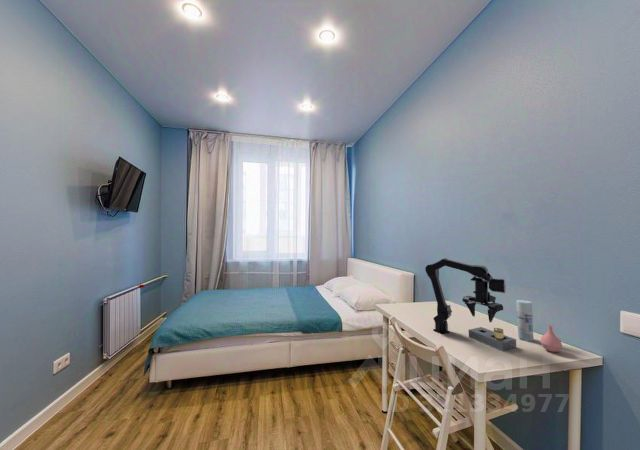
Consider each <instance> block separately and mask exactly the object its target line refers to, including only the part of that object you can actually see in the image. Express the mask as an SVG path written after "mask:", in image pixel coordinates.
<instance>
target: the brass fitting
mask: <svg viewBox="0 0 640 450" xmlns="http://www.w3.org/2000/svg"><path fill="white" fill-rule="evenodd" d="M493 331H494V338H496V339H499V340H504V335H505V334H504V329H503V328H501V327H493Z"/></svg>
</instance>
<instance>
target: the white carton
mask: <svg viewBox="0 0 640 450" xmlns="http://www.w3.org/2000/svg"><path fill="white" fill-rule="evenodd" d="M516 317H517V333H518V339H519V340H521V341H525V342H529V343H530V342H534V324H533V323H534V322H533V319H534V317H533V302H532V301H530V300H526V299H525V300H524V299H517V300H516Z"/></svg>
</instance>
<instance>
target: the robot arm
mask: <svg viewBox="0 0 640 450" xmlns="http://www.w3.org/2000/svg"><path fill="white" fill-rule="evenodd" d="M443 267H448V268H452V269H455V270H459V271H463V272H467V273H468V274H471V275H472V276H473V277H472V278H471V279H470V281H472V282H474V291H473V292H472V293H473V294H474V295H475V296H472V295H466V296H463V297H462V303H464V304H465V305H466V307H467V309H468V310H469V312H470V314H471V316H472V317H476V305H480V306H481V305H482V306H485V307H487V315H488V321H489V323H492V322H493V320H494V318H495V316H496V314H497V313H498V312H500V311H503V310H504V306H503V304H501V303H499V302H498V303H497V302H496V299H497V297H496V296H493V295H491V292H495V293H501V294H505V293H506V282H505V279H504V278H493V277H492V275H491V274H490V273H489V269H488V268H487V267H486V266H485V265H480V264H479V265H478V264H467V263H463V262H460V261H455V260H452V259H448V258H445V257H444V258H441V259H440V260H439V261H436V262H433V263H430V264H427V265H426V266H425V267H424V268H425V269H424V270H425V273H426V275H427V276H428V278H429V279H430V282H431V286H432V289H433V293H434V295H435V300H436V304H437V305H436V306H437V307H436V313H437V315H436V316H434V317H433V320H434V326H435V327H434V328H433V329H432V330H433V331H434V332H436V333H439V334H441V335H443V334H448V333H450V332H451V331H450V330H449V327H448V326H449V325H448V319H449V318H450V317H451V316H452V313H453V310H452V309H451V305H450V304H449V305H448V304H447V302H446V300H445V296H444V293H443V289H442V286H441V282H440V269H441V268H442V269H443ZM489 290H490V291H491V292H490V291H489Z"/></svg>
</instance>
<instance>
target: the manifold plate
mask: <svg viewBox="0 0 640 450" xmlns="http://www.w3.org/2000/svg"><path fill="white" fill-rule="evenodd" d="M468 338H469V339H472V340H475V341H477V342H479V343H482V344H484V345H487V346H489V347H492V348H494V349H497V350H499V351H502V352H505V351H508V350H512V349H516V348H517V339H516V338H514V337H510V336H508V335H506V334H504V340H499V339H496V338H494V330H491V329H488V328H485V327H482V326H479V327H475V328H471V329H470V328H469V329H468Z"/></svg>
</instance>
